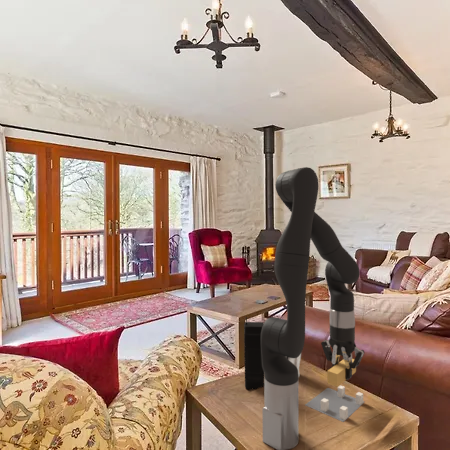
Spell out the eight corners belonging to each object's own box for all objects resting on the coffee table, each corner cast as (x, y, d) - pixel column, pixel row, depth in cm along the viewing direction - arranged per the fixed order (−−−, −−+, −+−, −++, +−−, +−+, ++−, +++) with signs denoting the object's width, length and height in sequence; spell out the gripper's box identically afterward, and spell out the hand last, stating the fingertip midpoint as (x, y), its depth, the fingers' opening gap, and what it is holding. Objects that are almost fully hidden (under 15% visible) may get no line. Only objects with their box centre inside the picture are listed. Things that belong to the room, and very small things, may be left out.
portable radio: (266, 381, 129) (266, 314, 128) (267, 390, 123) (266, 319, 122) (245, 380, 129) (244, 314, 128) (244, 389, 124) (244, 319, 122)
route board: (343, 425, 102) (343, 412, 102) (304, 408, 111) (304, 395, 111) (364, 404, 113) (364, 392, 113) (327, 390, 122) (327, 379, 122)
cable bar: (337, 387, 105) (337, 374, 104) (327, 383, 107) (327, 370, 107) (355, 371, 114) (355, 359, 114) (346, 368, 116) (346, 357, 116)
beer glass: (294, 371, 136) (294, 333, 136) (305, 379, 130) (305, 339, 129) (279, 375, 134) (278, 336, 133) (289, 383, 127) (289, 342, 127)
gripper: (315, 321, 112) (316, 374, 112) (359, 331, 102) (359, 389, 103) (327, 315, 117) (327, 366, 118) (369, 325, 107) (369, 380, 108)
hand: (342, 376), depth 110 cm, fingers closed on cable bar, 3 cm apart
